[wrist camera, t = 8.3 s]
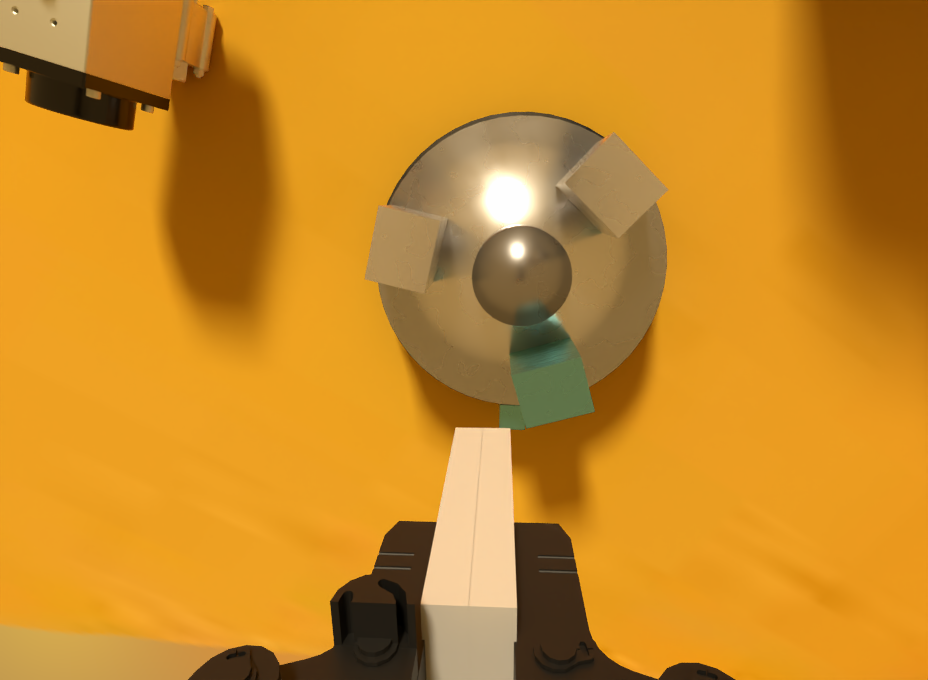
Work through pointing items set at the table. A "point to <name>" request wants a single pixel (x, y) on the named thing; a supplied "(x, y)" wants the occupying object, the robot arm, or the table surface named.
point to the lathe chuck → (522, 262)
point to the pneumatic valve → (104, 53)
